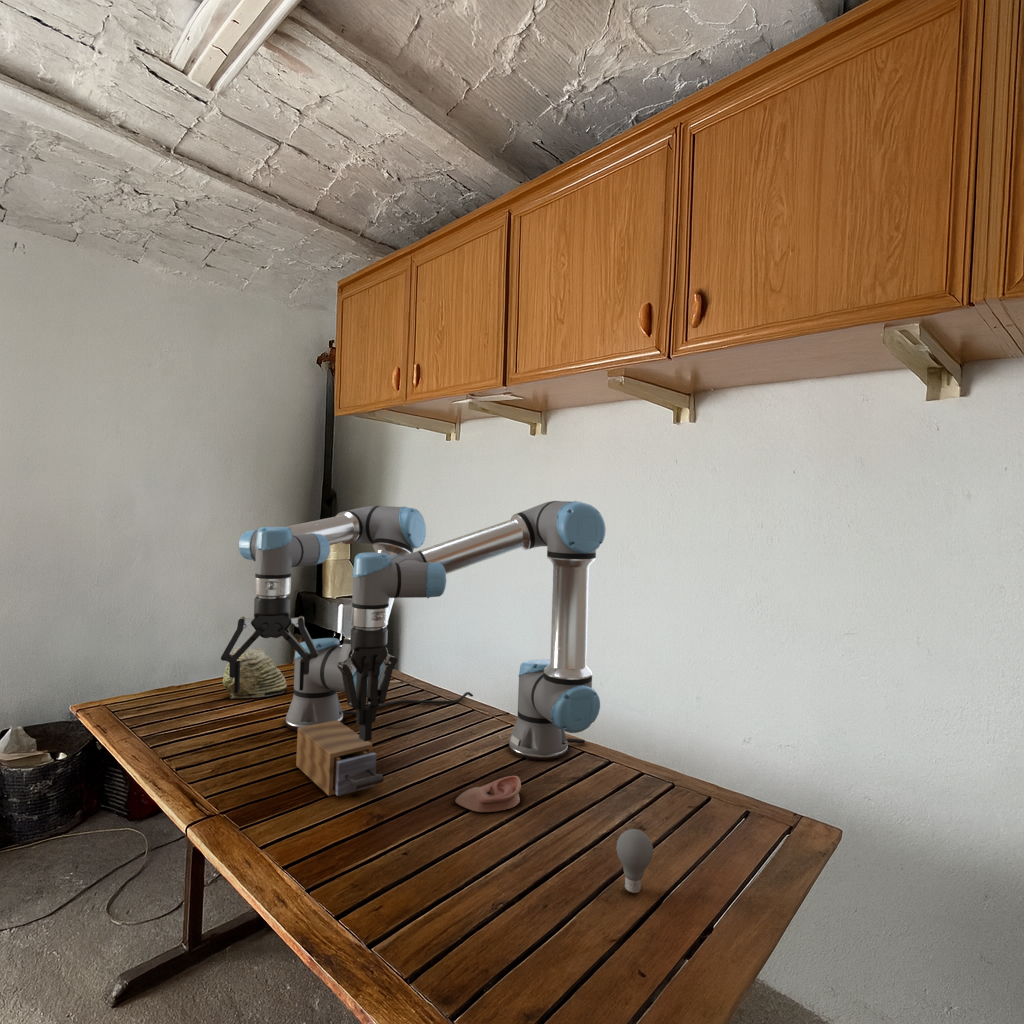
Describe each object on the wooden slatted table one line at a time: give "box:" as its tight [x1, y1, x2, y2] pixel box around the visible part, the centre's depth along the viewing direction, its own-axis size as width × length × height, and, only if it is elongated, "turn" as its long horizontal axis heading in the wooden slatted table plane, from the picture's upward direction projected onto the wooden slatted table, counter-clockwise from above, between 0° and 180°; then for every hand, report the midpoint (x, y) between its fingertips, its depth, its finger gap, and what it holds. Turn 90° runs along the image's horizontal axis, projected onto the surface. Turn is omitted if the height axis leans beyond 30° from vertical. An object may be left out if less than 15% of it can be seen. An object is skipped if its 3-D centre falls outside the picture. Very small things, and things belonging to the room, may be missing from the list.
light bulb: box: [615, 828, 654, 894], centre depth 106 cm, size 6×6×10 cm
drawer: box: [333, 750, 384, 797], centre depth 139 cm, size 23×9×7 cm, turn 40°
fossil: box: [222, 646, 288, 699], centre depth 198 cm, size 9×18×15 cm, turn 132°
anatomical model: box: [454, 775, 522, 813], centre depth 135 cm, size 13×4×12 cm
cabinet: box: [295, 720, 373, 797], centre depth 144 cm, size 18×10×9 cm, turn 40°
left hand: (269, 690), depth 142 cm, fingers open, 13 cm apart
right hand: (365, 738), depth 133 cm, fingers closed
